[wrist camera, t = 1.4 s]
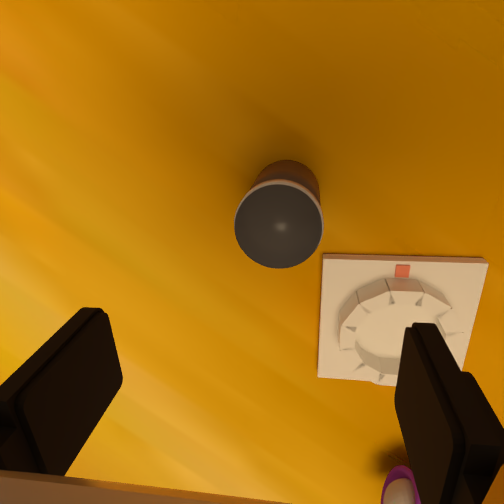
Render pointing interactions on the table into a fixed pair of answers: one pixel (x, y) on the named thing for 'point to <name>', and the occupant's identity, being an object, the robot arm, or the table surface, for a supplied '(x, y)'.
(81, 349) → the robot arm
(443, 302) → the lens mount
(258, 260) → the lens
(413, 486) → the toy camera
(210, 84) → the table surface
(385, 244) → the table surface
